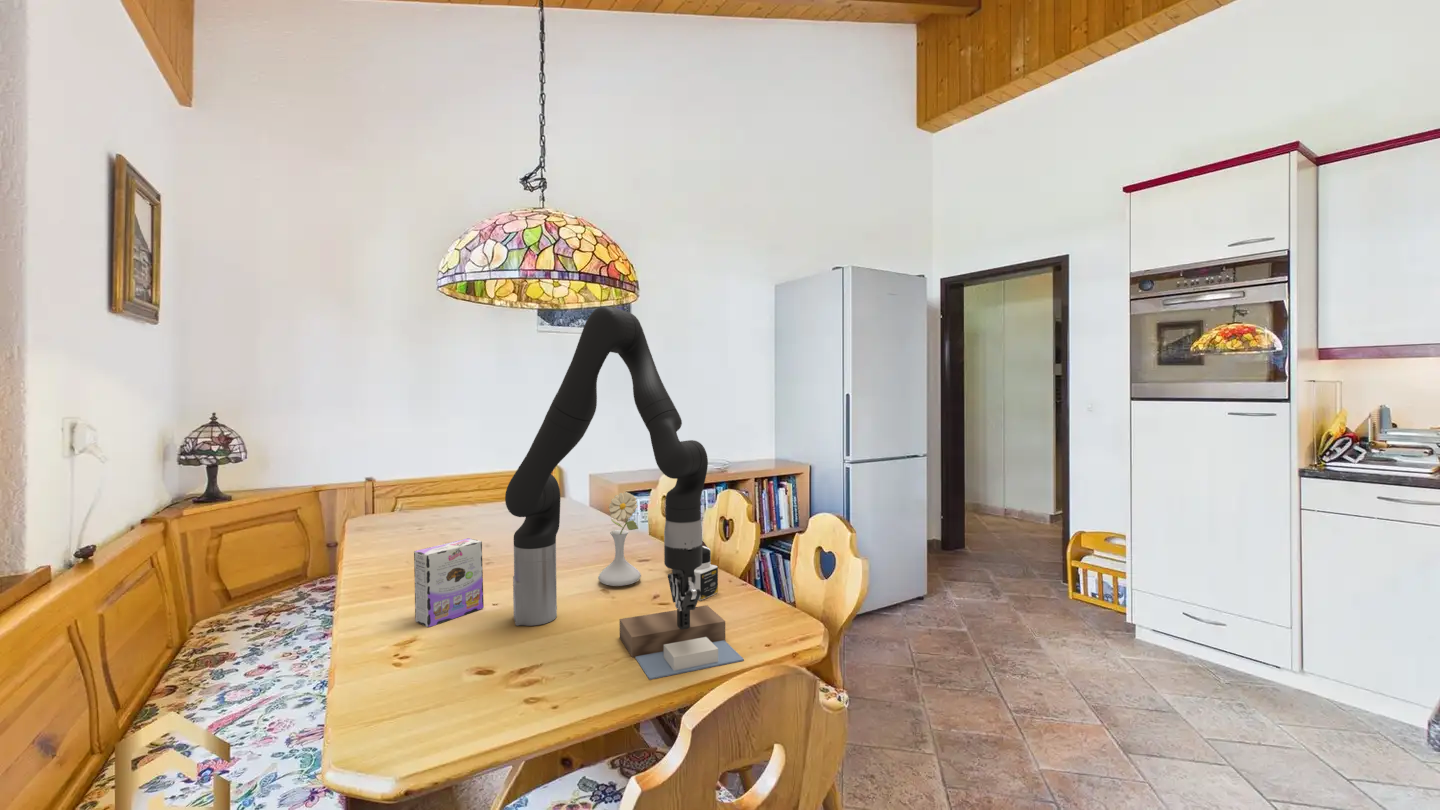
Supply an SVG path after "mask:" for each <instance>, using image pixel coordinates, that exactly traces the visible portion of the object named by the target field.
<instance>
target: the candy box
mask: <svg viewBox="0 0 1440 810" xmlns="http://www.w3.org/2000/svg"><path fill="white" fill-rule="evenodd" d="M413 563H414V564H413V565H414V614H415V615H414V616H415V617H414V621H415V622H416V623H418V624H419V625H422V626H424V627H426V628H430V627H434V626H436V625H439V624H442V623H445V622H448V621H451V620H453V619H456V618H459V617H462V616H465V615H468V614H471V613H473V612H476V611H479V610H482V609H484V608H485V607H484V606H485V605H484V577H483V576H484V575H483V574H484V573H483V571H484V570H483V569H484V568H483V542H482V540H478V539H474V538H464V539H461V540H460V539H459V540H455V541H451V542H447V543H443V544H439V545H434V546H431V547H426V548H422V549H418V550H414V552H413Z"/></svg>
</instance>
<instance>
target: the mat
mask: <svg viewBox="0 0 1440 810" xmlns="http://www.w3.org/2000/svg"><path fill="white" fill-rule="evenodd" d="M712 643H713V644H714V645H715V646H716V647H717V648H718V662H714V663H709V664H704V665H699V666H694V667H689V668H685V669H680V670H675V671H674V670H673V669H672V668H671V666H670V665H669V664H668V662H667V661H666V660H665V658H664V651H662V652H657V653H651V654H646V655H641V656H635V657H634V658H635V660H636V661H637V663H638V665H639V666H640V668H641V669H642V670H643V673H644V674H645V676H646V677H647V678H648V680H649V681H650V680H654V679H660V678H665V677H669V676H674V675H675V676H676V675H680V674H685V673H689V672H690V673H691V672H693V671H694V672H696V671H700V670H704V669H709V668H710V669H711V668H713V667H714V668H715V667H720V666H724V665H729V664H730V665H731V664H734V663H739V662H743V661H745V658H743V656H741V655H740V654H739V653H738V652H737V651H736V650H735V649H734V648H733V647H732V646H731V645H730V644H729V643H728V642H727V641H726V639H725V640H722V641H716V642H712Z"/></svg>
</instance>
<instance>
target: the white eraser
mask: <svg viewBox="0 0 1440 810" xmlns="http://www.w3.org/2000/svg"><path fill="white" fill-rule="evenodd" d="M664 658H665V660H666V661H667V662H668V664H669V665H670V666H671V668H672V669H673V670H674V671H675V670H680V669H685V668H689V667H694V666H699V665H704V664H709V663H714V662H718V648H717V647H716V646H715V645H714V644H713V643H712V642H711V641H710V640H709V639H708V638H707V637H703V638H697V639H692V640H686V641H681V642H675V643H670V644H664Z"/></svg>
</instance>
